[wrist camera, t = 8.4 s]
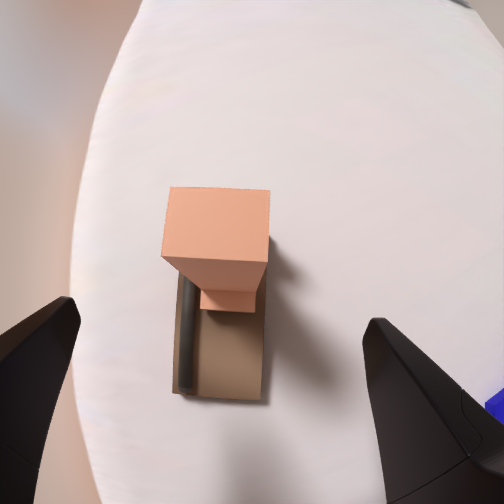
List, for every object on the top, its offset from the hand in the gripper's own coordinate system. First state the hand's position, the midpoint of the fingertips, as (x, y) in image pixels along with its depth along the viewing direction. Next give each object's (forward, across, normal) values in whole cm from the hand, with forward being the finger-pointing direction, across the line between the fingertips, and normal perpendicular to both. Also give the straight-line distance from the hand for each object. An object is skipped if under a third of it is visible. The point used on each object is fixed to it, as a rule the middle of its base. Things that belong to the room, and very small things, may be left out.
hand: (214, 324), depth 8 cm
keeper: (+8, 0, +4) cm, 9 cm away
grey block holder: (+7, +1, +6) cm, 10 cm away
